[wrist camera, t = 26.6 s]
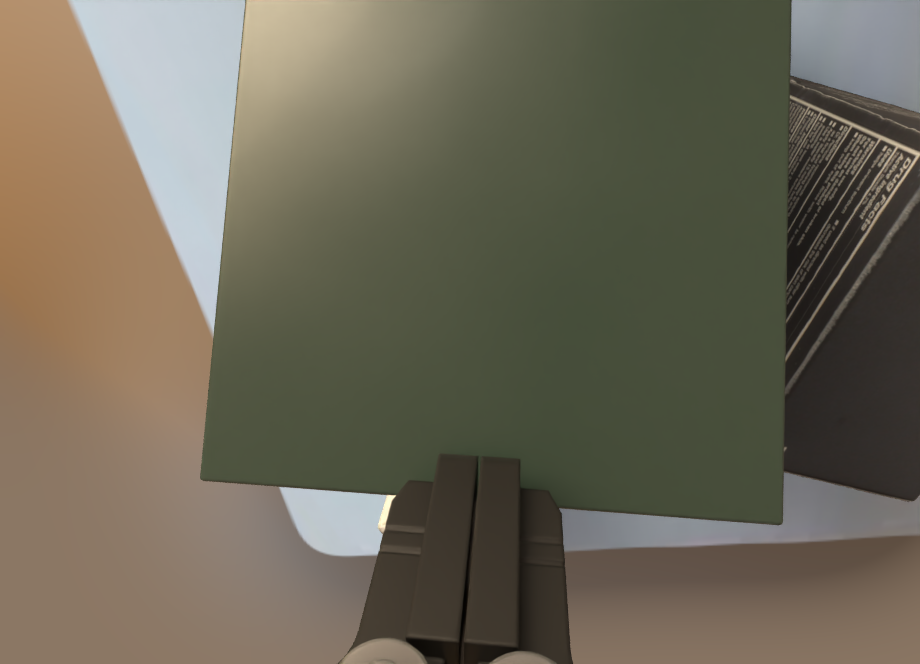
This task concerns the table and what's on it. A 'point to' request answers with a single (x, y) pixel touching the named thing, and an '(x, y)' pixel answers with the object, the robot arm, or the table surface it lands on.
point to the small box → (853, 292)
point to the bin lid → (509, 250)
